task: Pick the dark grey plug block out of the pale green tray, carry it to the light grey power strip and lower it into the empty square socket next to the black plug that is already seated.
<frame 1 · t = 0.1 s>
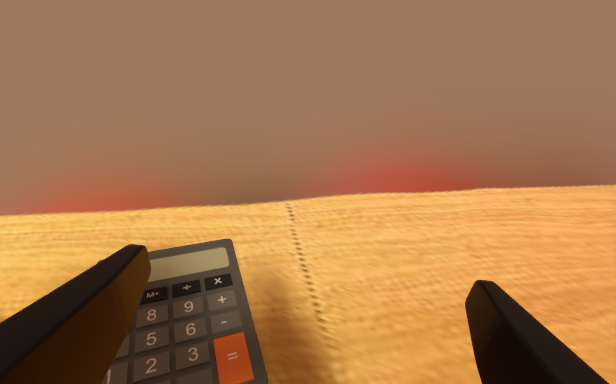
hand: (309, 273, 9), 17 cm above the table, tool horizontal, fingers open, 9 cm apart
calculator: (172, 321, 27), on the table
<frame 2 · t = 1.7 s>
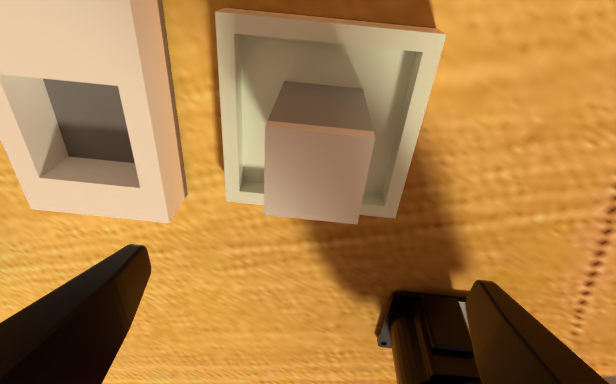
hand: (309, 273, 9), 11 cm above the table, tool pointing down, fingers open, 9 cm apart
power strip: (83, 16, 17), on the table
plug: (319, 122, 19), resting on tray
tray: (320, 118, 19), on the table
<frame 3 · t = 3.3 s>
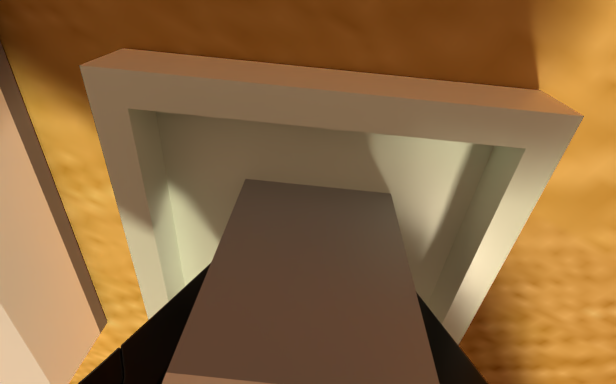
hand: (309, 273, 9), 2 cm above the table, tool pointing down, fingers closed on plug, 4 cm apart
plug: (311, 241, 11), resting on tray, touching gripper
tray: (312, 230, 11), on the table
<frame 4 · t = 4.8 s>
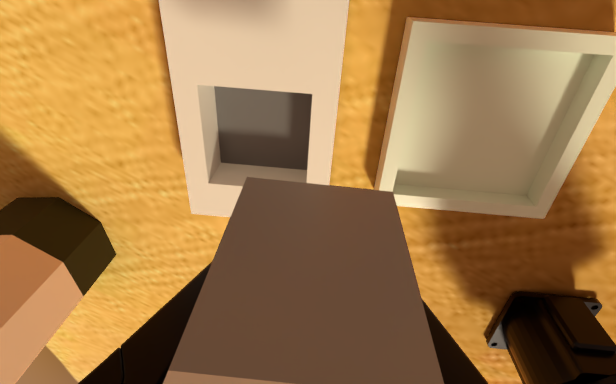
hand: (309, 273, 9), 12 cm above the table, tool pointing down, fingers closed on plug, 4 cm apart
power strip: (265, 28, 18), on the table
wine bottle: (63, 237, 27), on the table
plug: (313, 239, 11), point 11 cm above the table, touching gripper
tray: (476, 122, 19), on the table
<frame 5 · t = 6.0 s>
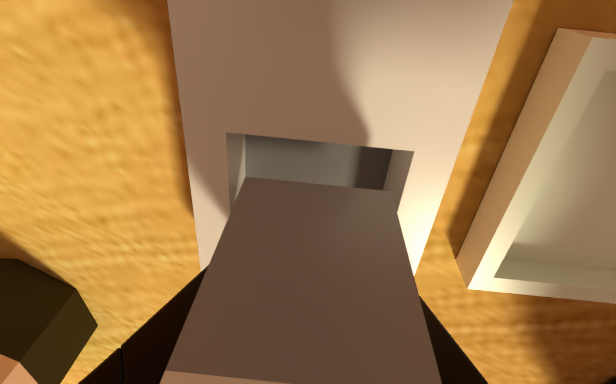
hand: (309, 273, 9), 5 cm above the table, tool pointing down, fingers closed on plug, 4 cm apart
power strip: (329, 39, 11), on the table
wine bottle: (27, 304, 20), on the table
plug: (311, 239, 10), point 4 cm above the table, touching gripper
when the fingers open (3 cm above the table, at t = 6.7 s): plug drops 1 cm, resting on power strip.
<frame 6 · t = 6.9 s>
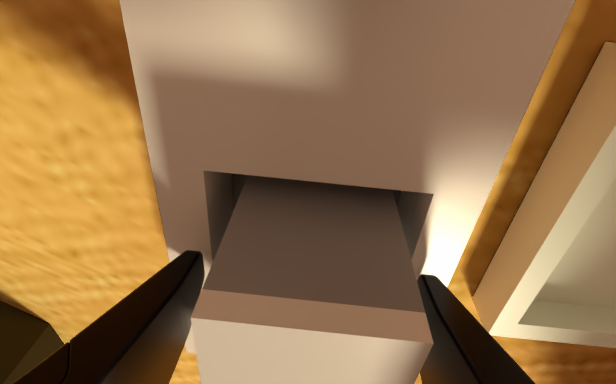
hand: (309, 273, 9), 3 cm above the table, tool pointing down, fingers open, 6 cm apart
power strip: (330, 55, 9), on the table
plug: (315, 210, 12), resting on power strip
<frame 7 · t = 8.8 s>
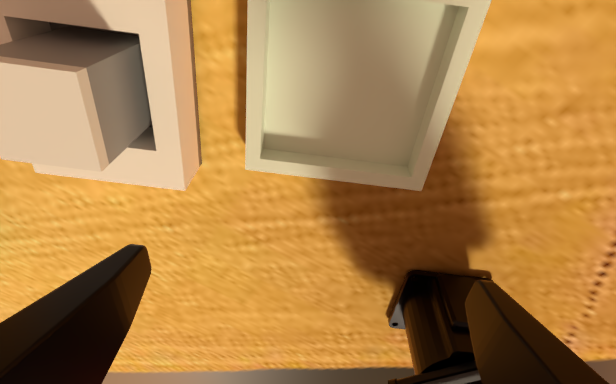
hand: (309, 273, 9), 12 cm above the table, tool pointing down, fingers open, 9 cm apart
plug: (116, 74, 18), resting on power strip
tray: (348, 82, 18), on the table
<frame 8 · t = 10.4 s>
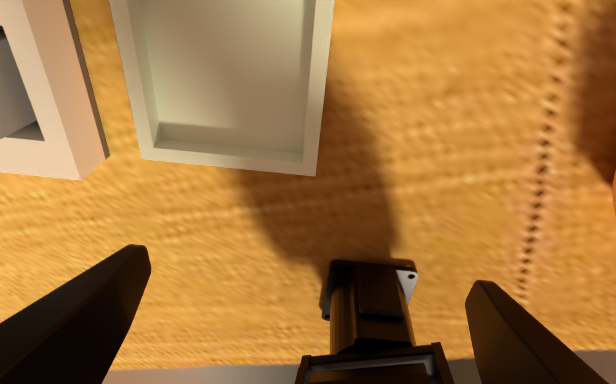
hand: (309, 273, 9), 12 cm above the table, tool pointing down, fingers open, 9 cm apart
plug: (10, 69, 19), resting on power strip
tray: (232, 70, 18), on the table
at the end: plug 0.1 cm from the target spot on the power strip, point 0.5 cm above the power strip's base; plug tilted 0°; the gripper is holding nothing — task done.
